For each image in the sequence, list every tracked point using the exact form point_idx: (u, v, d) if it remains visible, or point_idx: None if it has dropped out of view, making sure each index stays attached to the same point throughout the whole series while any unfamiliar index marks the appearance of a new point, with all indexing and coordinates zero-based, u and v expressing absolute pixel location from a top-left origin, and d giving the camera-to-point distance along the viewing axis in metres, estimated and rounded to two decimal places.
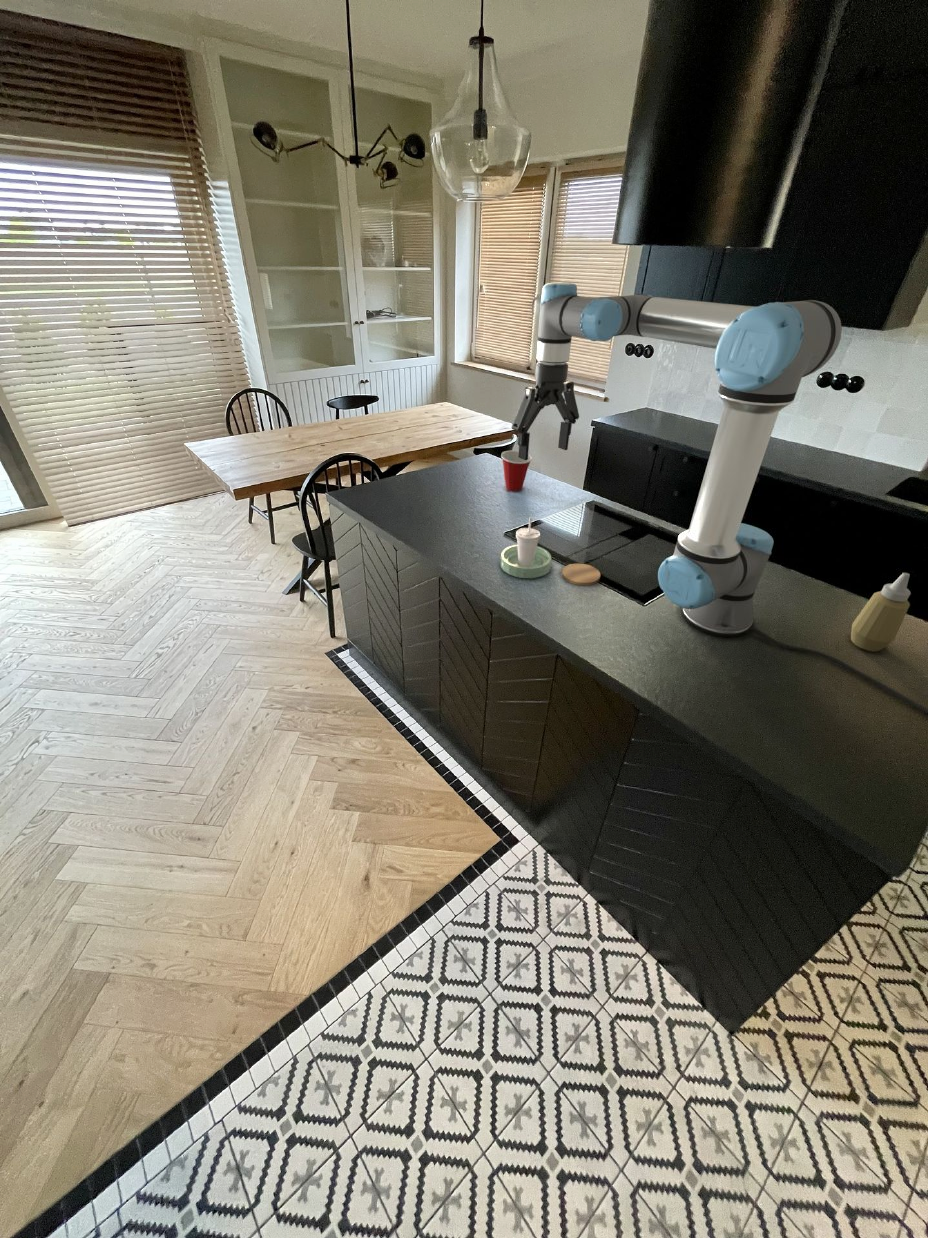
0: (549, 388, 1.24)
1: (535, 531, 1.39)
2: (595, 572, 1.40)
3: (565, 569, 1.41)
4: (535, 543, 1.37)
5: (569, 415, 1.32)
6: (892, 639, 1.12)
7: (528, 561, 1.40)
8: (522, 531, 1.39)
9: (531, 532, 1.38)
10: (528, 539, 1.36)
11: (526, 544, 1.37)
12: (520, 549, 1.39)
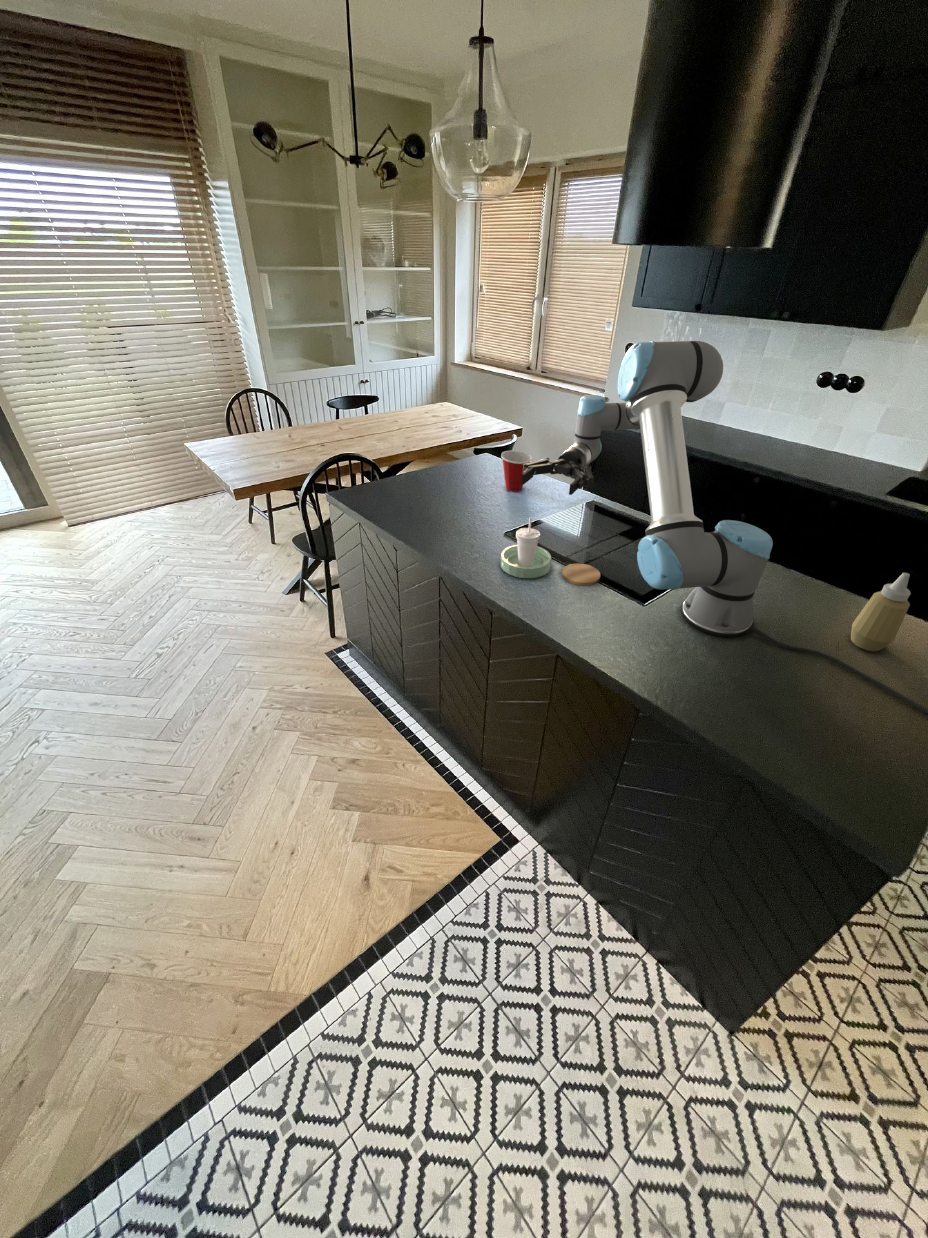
0: None
1: (535, 531, 1.39)
2: (595, 572, 1.40)
3: (565, 569, 1.41)
4: (535, 543, 1.37)
5: (581, 474, 1.42)
6: (892, 639, 1.12)
7: (528, 561, 1.40)
8: (522, 531, 1.39)
9: (531, 532, 1.38)
10: (528, 539, 1.36)
11: (526, 544, 1.37)
12: (520, 549, 1.39)
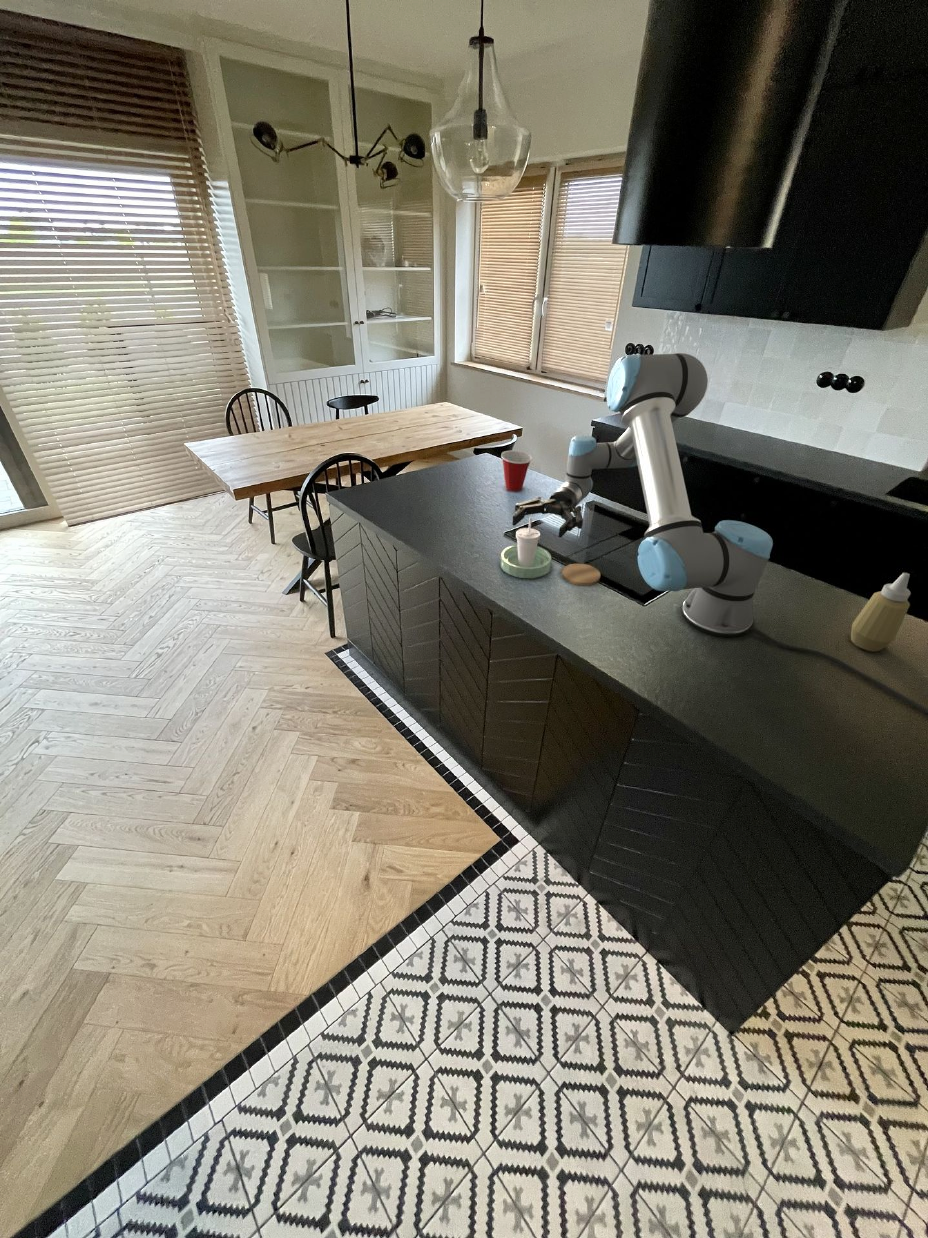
0: None
1: (535, 531, 1.39)
2: (595, 572, 1.40)
3: (565, 569, 1.41)
4: (535, 543, 1.37)
5: (571, 516, 1.45)
6: (892, 639, 1.12)
7: (528, 561, 1.40)
8: (522, 531, 1.39)
9: (531, 532, 1.38)
10: (528, 539, 1.36)
11: (526, 544, 1.37)
12: (520, 549, 1.39)
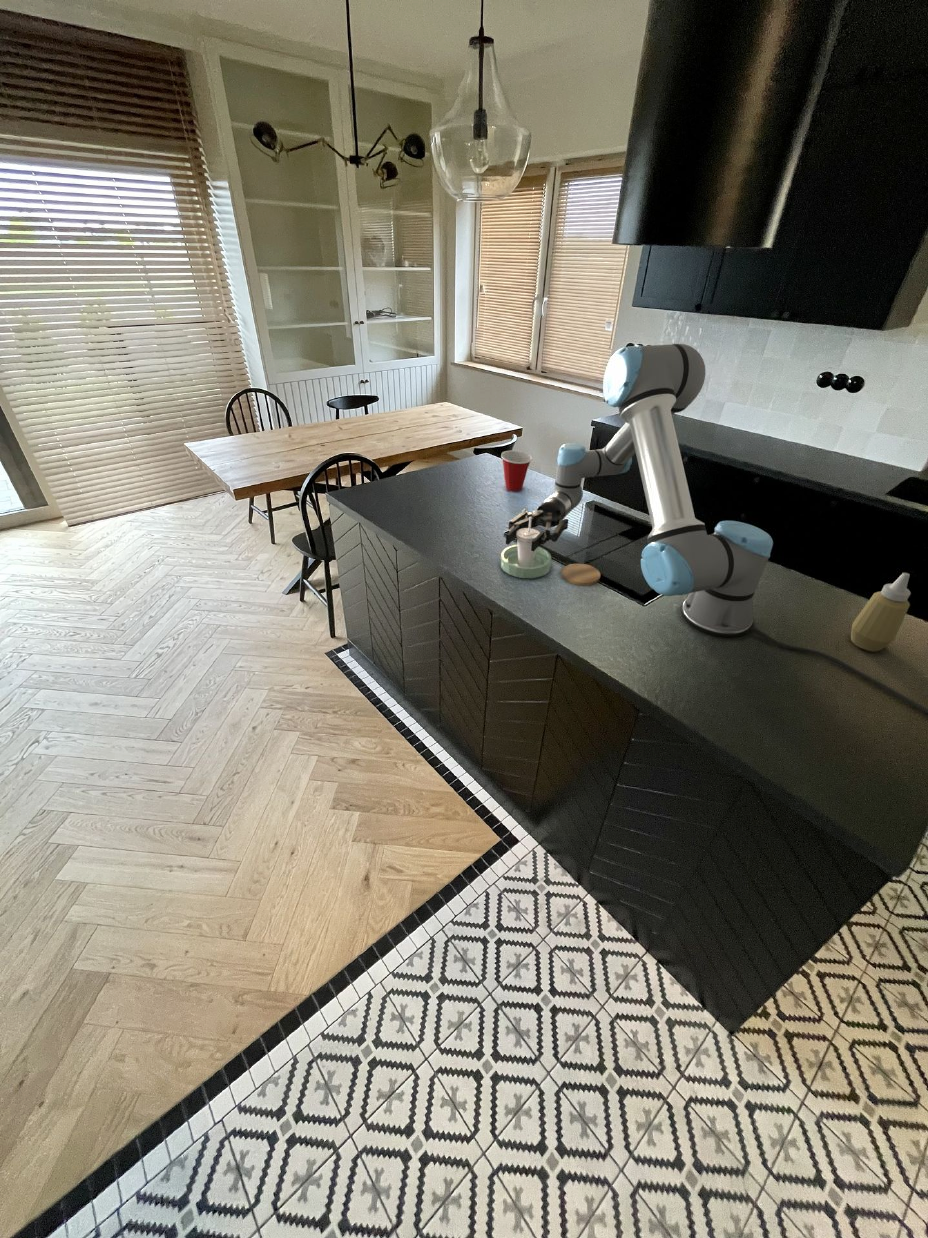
0: None
1: (535, 531, 1.39)
2: (595, 572, 1.40)
3: (565, 569, 1.41)
4: None
5: (548, 528, 1.39)
6: (892, 639, 1.12)
7: (528, 561, 1.40)
8: (522, 531, 1.39)
9: (531, 532, 1.38)
10: (528, 539, 1.36)
11: (526, 544, 1.37)
12: (520, 549, 1.39)
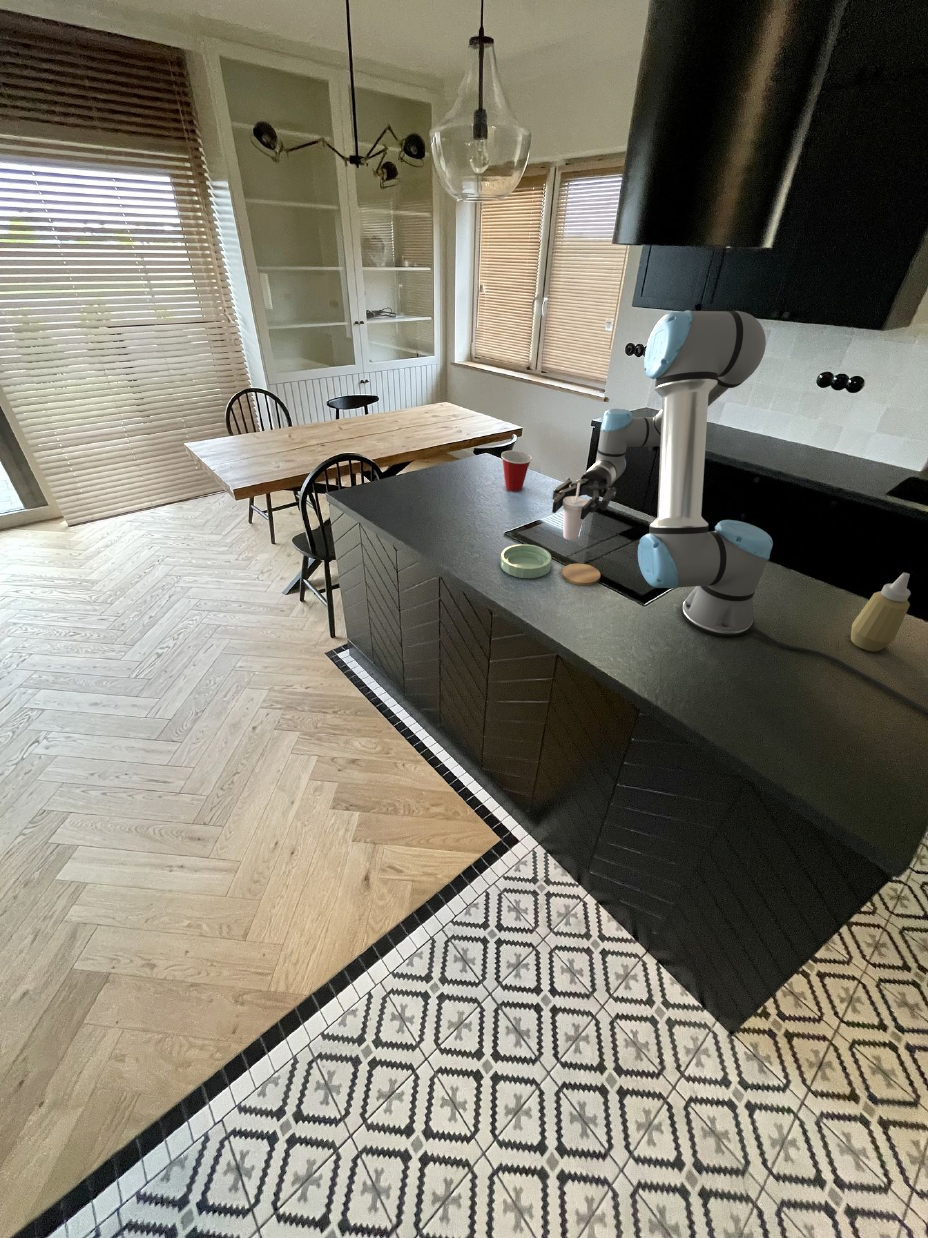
0: None
1: (583, 499, 1.30)
2: (595, 572, 1.40)
3: (565, 569, 1.41)
4: None
5: (596, 496, 1.30)
6: (892, 639, 1.12)
7: (575, 531, 1.32)
8: (569, 499, 1.30)
9: (579, 500, 1.29)
10: (576, 507, 1.27)
11: (574, 512, 1.28)
12: (567, 518, 1.30)
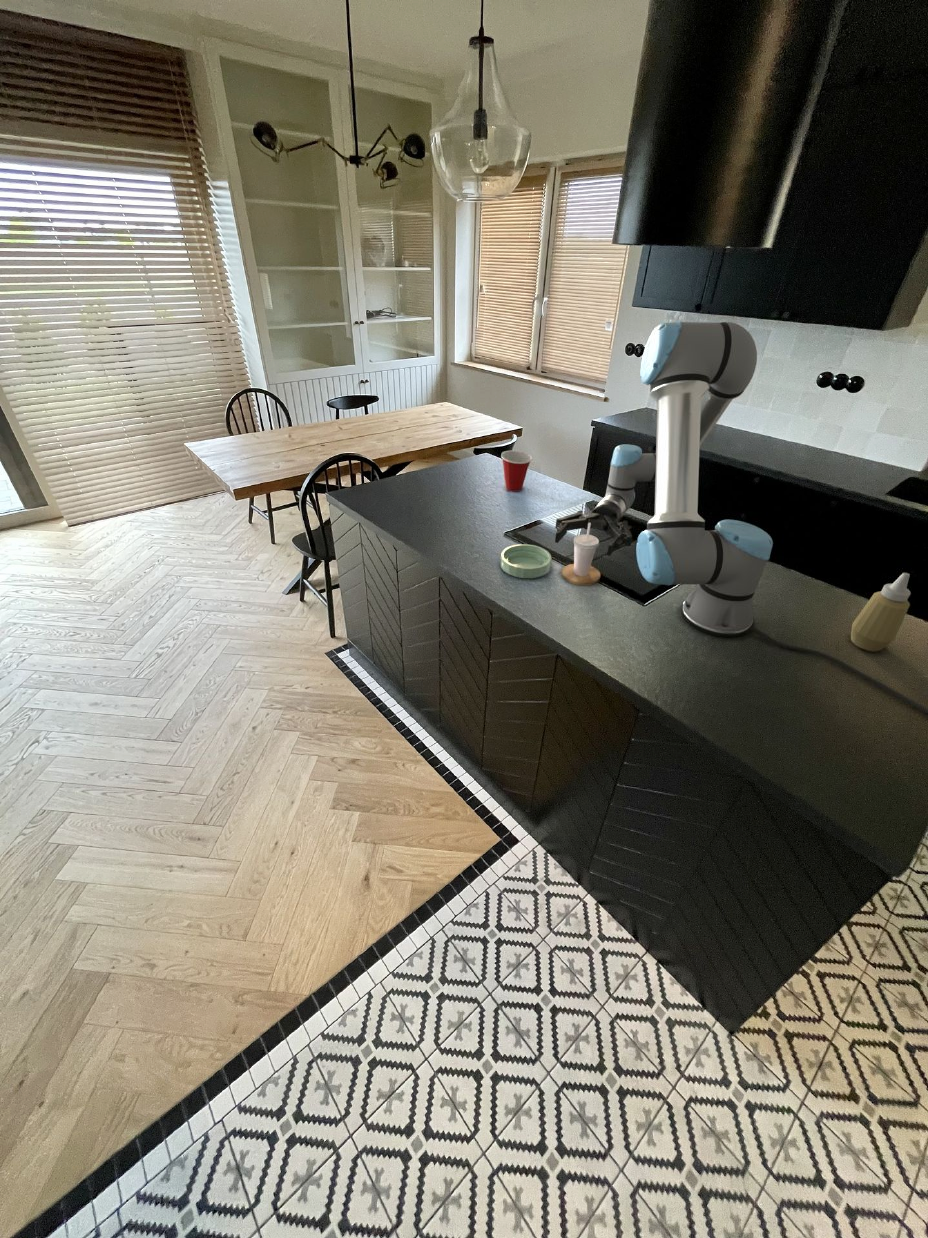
0: None
1: (593, 538, 1.35)
2: (595, 572, 1.40)
3: (565, 569, 1.41)
4: (594, 550, 1.34)
5: (619, 532, 1.34)
6: (892, 639, 1.12)
7: (585, 568, 1.37)
8: (580, 538, 1.35)
9: (589, 539, 1.34)
10: (587, 546, 1.32)
11: (585, 551, 1.33)
12: (578, 556, 1.35)
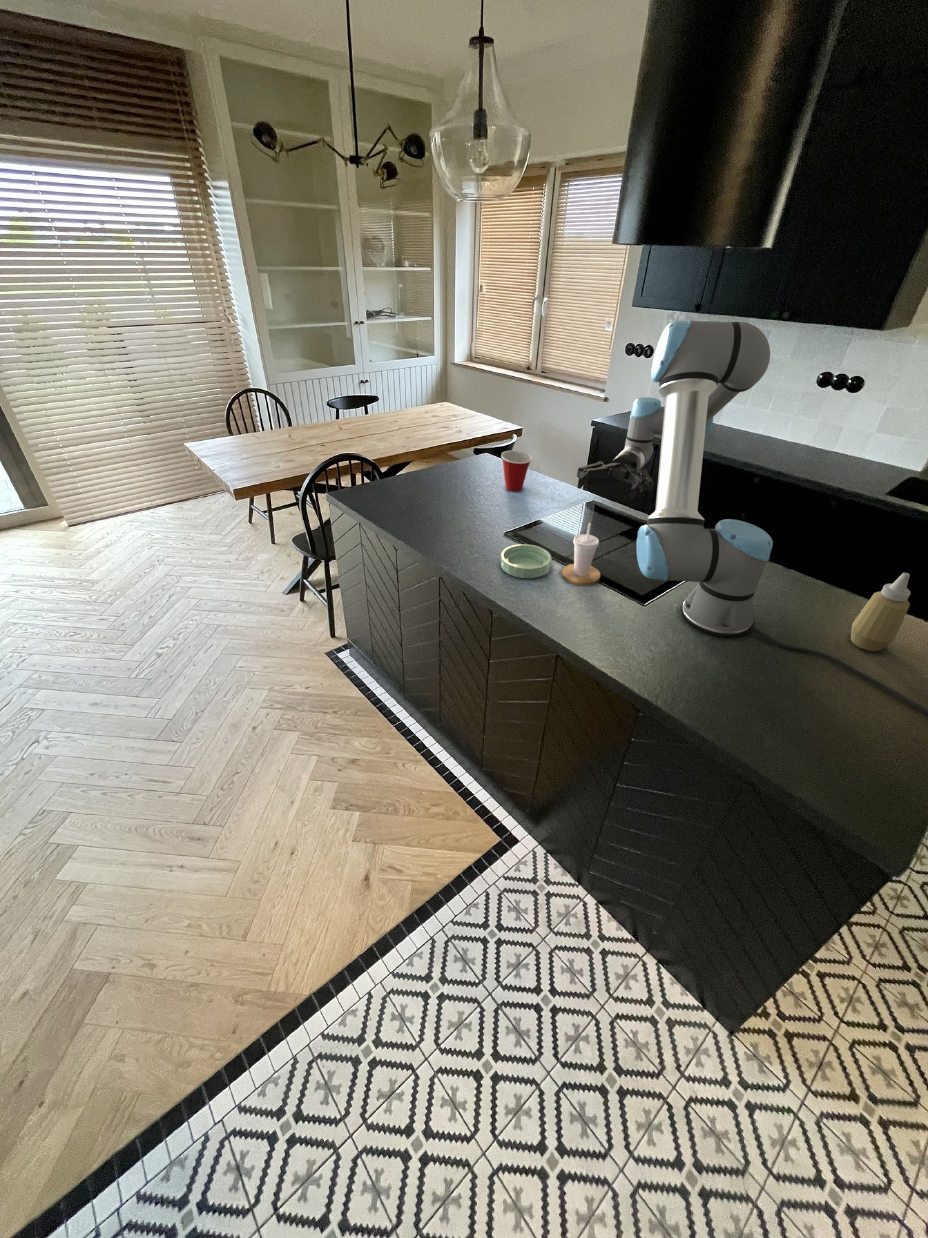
0: None
1: (593, 538, 1.35)
2: (595, 572, 1.40)
3: (565, 569, 1.41)
4: (594, 550, 1.34)
5: (640, 478, 1.38)
6: (892, 639, 1.12)
7: (585, 568, 1.37)
8: (580, 538, 1.35)
9: (589, 539, 1.34)
10: (587, 546, 1.32)
11: (585, 551, 1.33)
12: (578, 556, 1.35)
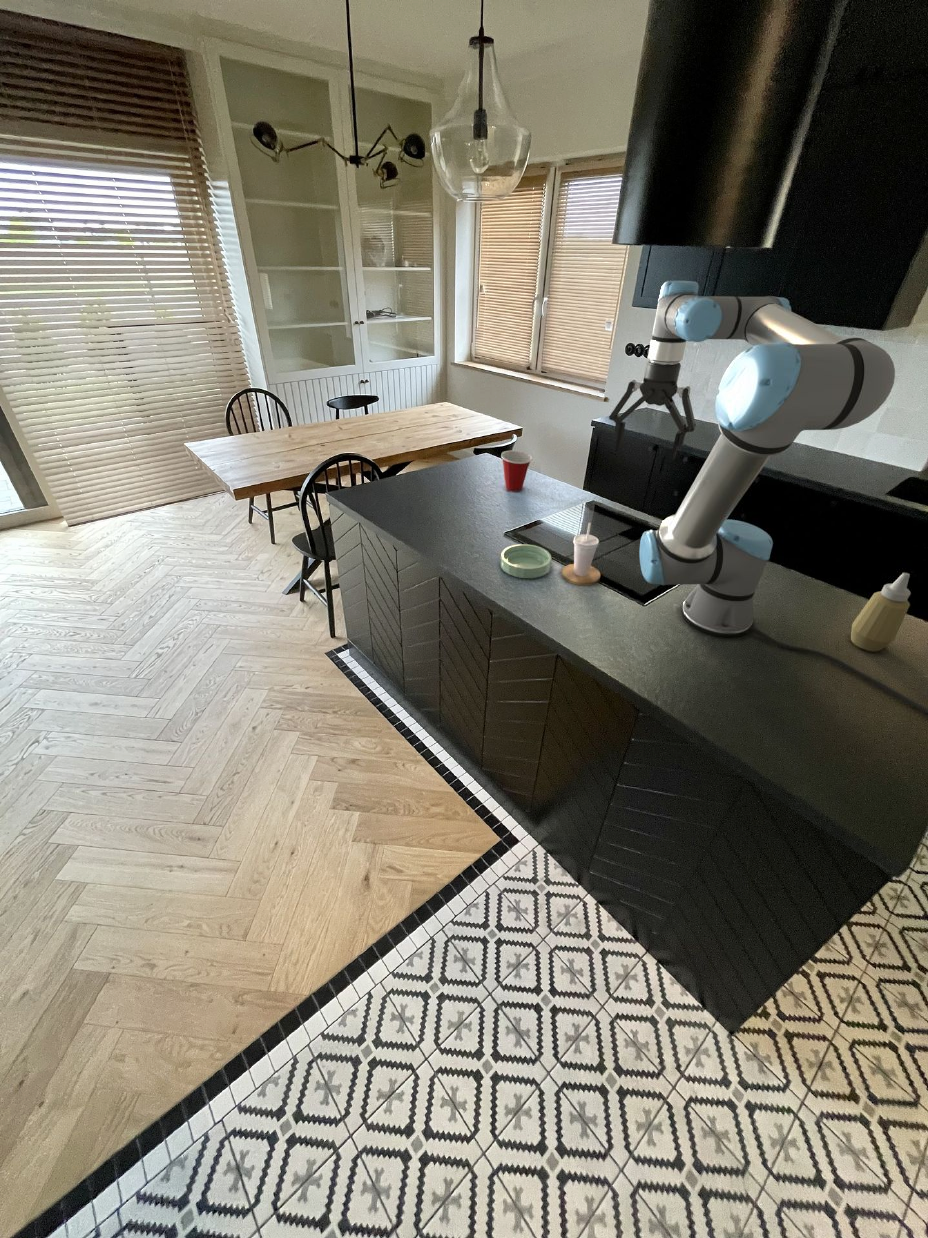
0: (652, 386, 1.23)
1: (593, 538, 1.35)
2: (595, 572, 1.40)
3: (565, 569, 1.41)
4: (594, 550, 1.34)
5: (679, 423, 1.24)
6: (892, 639, 1.12)
7: (585, 568, 1.37)
8: (580, 538, 1.35)
9: (589, 539, 1.34)
10: (587, 546, 1.32)
11: (585, 551, 1.33)
12: (578, 556, 1.35)
